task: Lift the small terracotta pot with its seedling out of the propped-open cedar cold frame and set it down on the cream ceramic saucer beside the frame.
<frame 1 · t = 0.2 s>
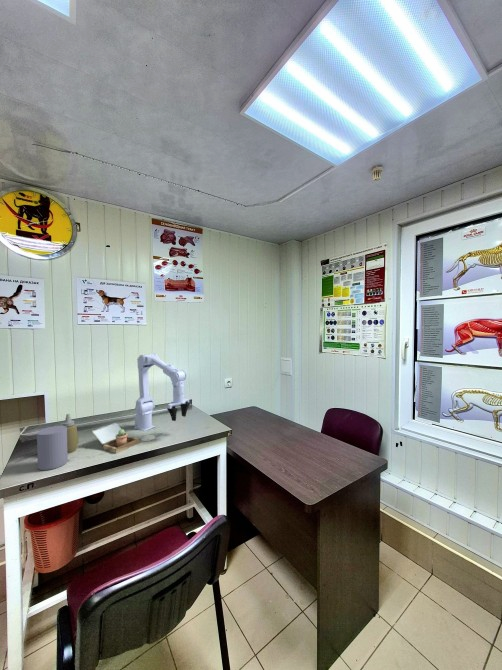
hand: (178, 418, 143), 10 cm above the table, fingers open, 7 cm apart
container: (53, 465, 114), on the table
lid: (109, 433, 135), point 5 cm above the table, hinge at 150.0°
clay pot: (121, 445, 131), resting on cold frame
cold frame: (121, 446, 131), on the table
saucer: (147, 438, 140), on the table
squeeze bottle: (68, 452, 126), on the table
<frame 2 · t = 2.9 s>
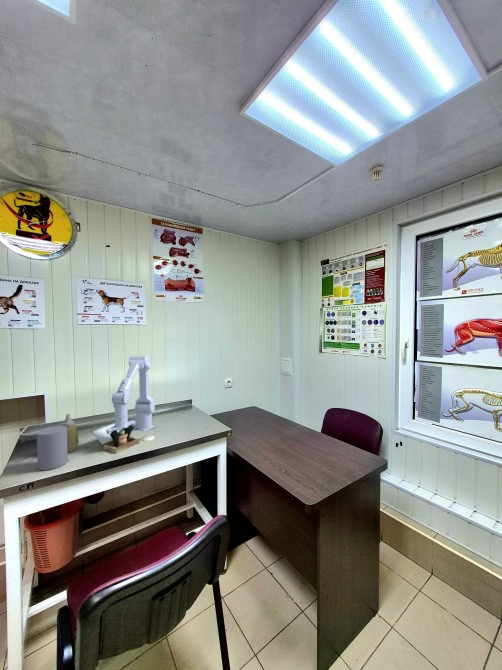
hand: (121, 443, 131), 2 cm above the table, fingers closed on clay pot, 5 cm apart
clay pot: (121, 445, 131), resting on cold frame, touching gripper
everything else where it was.
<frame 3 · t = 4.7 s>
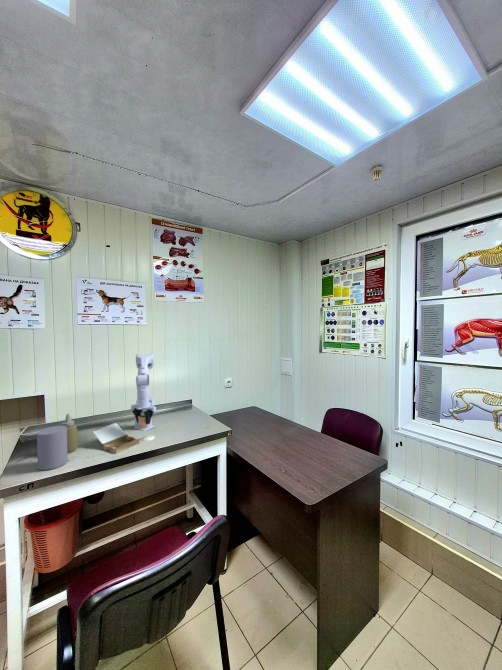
hand: (143, 423, 139), 9 cm above the table, fingers closed on clay pot, 5 cm apart
clay pot: (142, 426, 139), point 7 cm above the table, tilted 5°, touching gripper
everything else where it was.
when the fingers open (3 cm above the table, at t = 6.7 s): clay pot stays where it is, resting on saucer.
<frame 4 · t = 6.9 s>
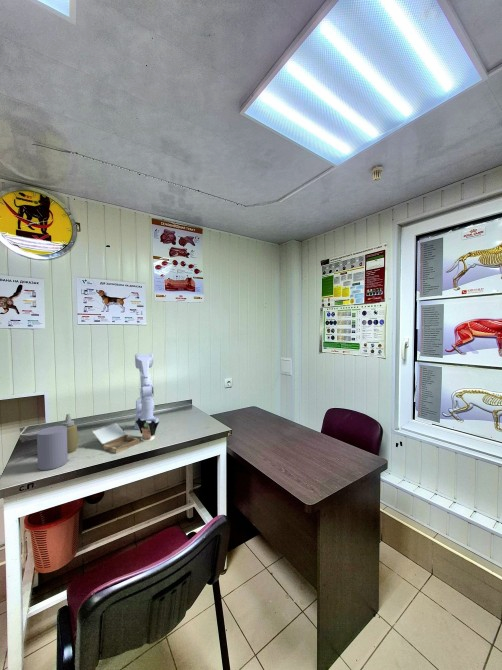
hand: (147, 434, 140), 3 cm above the table, fingers open, 7 cm apart
clay pot: (147, 437, 140), point 1 cm above the table, touching saucer
everything else where it was.
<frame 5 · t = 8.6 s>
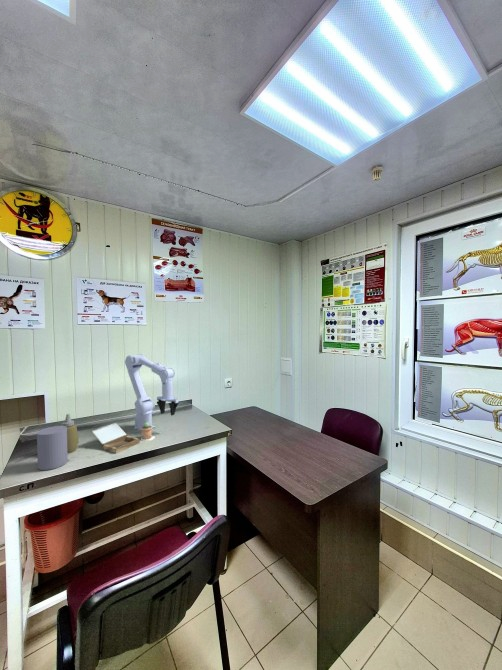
hand: (167, 414, 149), 10 cm above the table, fingers open, 7 cm apart
nothing on the table moved.
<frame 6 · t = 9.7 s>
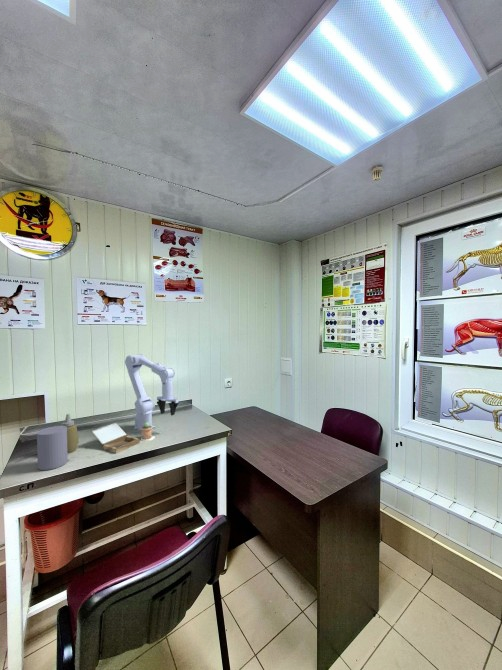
hand: (167, 414, 149), 10 cm above the table, fingers open, 7 cm apart
nothing on the table moved.
at the end: clay pot 0.5 cm off-centre on the saucer, point 0.6 cm above the saucer's base; clay pot tilted 0°; the gripper is holding nothing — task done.
